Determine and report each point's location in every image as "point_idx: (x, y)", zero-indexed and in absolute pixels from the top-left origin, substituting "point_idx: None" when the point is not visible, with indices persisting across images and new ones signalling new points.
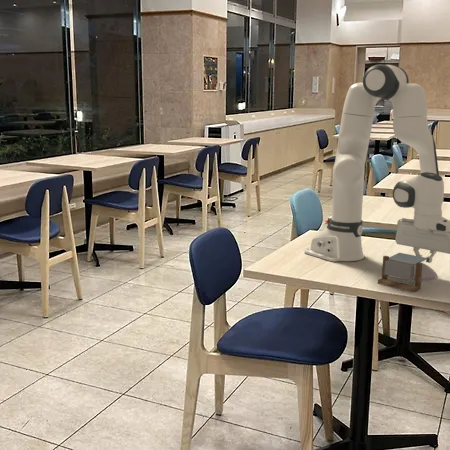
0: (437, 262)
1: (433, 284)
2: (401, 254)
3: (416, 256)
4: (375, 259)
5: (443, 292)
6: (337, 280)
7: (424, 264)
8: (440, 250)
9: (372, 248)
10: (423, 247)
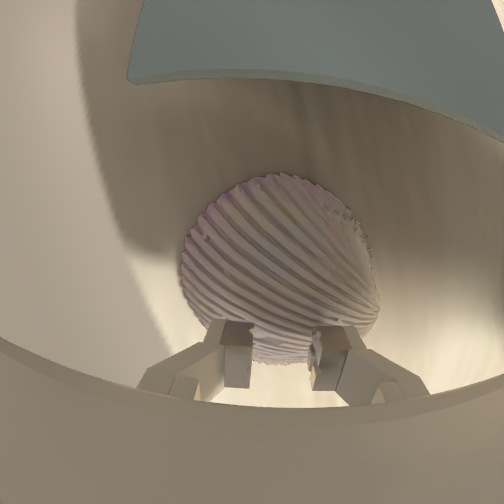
0: None
1: (150, 128)
2: (485, 69)
3: (295, 42)
4: (496, 350)
5: (85, 57)
6: (500, 10)
7: (273, 326)
8: (28, 363)
9: None
10: (296, 423)
